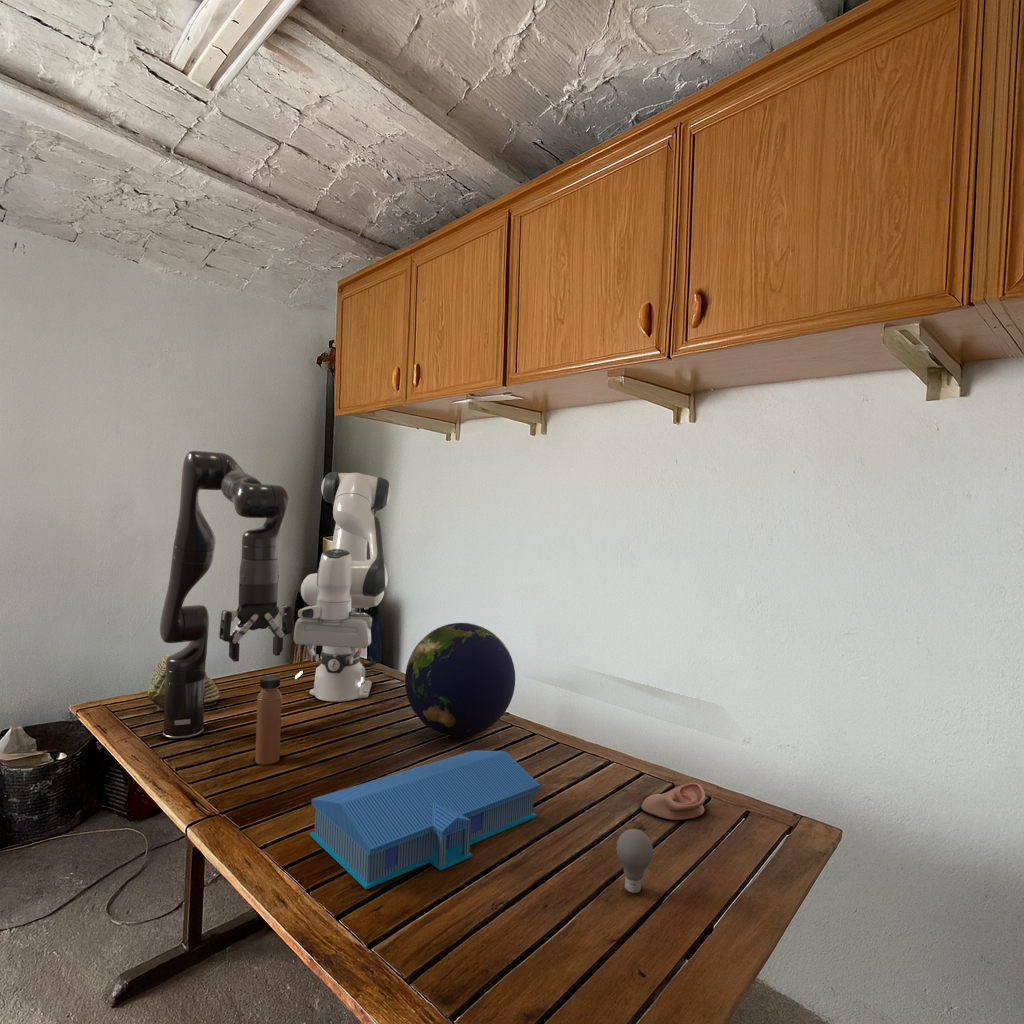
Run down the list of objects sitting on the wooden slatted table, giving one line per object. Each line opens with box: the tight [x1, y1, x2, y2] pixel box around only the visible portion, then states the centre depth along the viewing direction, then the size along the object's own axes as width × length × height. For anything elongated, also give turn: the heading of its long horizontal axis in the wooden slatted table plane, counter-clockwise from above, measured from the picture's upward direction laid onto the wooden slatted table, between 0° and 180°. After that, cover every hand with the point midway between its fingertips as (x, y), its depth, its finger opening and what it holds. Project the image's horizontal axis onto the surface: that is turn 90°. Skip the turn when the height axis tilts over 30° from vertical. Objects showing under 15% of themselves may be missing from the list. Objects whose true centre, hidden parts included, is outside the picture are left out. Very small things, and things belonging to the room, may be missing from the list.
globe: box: [404, 622, 516, 738], centre depth 173 cm, size 30×30×30 cm
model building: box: [309, 750, 541, 890], centre depth 123 cm, size 39×24×10 cm, turn 132°
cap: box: [259, 675, 281, 689], centre depth 151 cm, size 4×4×2 cm
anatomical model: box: [640, 782, 706, 821], centre depth 135 cm, size 13×4×12 cm
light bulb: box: [615, 828, 654, 894], centre depth 106 cm, size 6×6×10 cm
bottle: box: [254, 687, 283, 766], centre depth 151 cm, size 6×6×19 cm
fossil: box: [147, 654, 221, 712], centre depth 185 cm, size 9×18×15 cm, turn 132°
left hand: (256, 657), depth 132 cm, fingers open, 8 cm apart
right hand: (331, 662), depth 169 cm, fingers open, 8 cm apart
